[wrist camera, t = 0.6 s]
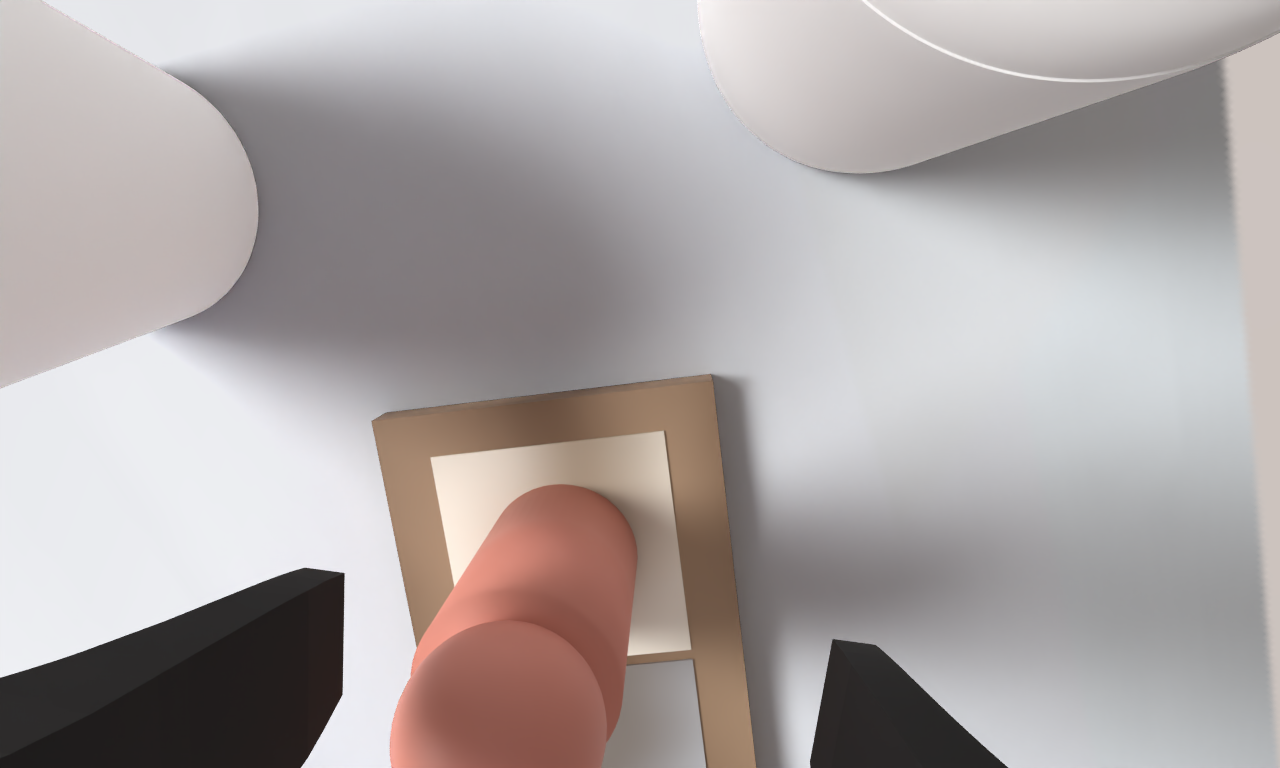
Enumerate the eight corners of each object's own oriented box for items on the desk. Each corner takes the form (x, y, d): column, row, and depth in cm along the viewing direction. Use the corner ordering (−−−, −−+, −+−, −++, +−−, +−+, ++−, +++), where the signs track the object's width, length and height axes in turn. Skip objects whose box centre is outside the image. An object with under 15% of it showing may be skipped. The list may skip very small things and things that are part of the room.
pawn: (502, 630, 20) (367, 936, 11) (478, 492, 19) (313, 701, 10) (646, 616, 20) (625, 918, 11) (627, 476, 19) (589, 675, 10)
